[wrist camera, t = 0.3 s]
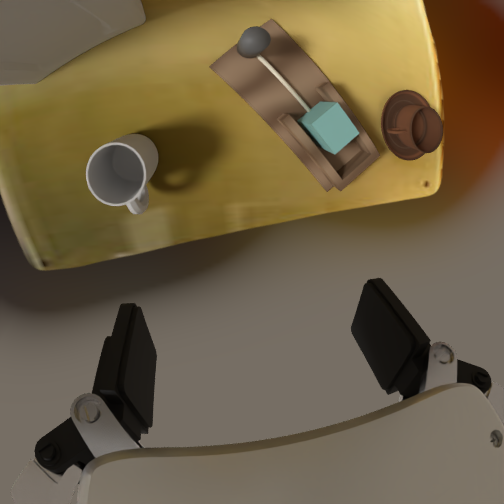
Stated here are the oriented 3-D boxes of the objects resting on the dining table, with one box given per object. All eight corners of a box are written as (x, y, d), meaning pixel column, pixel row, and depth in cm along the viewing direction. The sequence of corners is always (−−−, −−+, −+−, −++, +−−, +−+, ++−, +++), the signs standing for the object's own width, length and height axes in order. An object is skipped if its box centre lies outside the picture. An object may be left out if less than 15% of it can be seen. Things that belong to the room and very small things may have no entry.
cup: (149, 124, 31) (133, 131, 24) (173, 190, 37) (164, 215, 29) (103, 145, 31) (76, 158, 24) (128, 207, 37) (111, 235, 29)
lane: (209, 66, 29) (209, 63, 26) (270, 19, 26) (276, 12, 23) (326, 191, 40) (335, 198, 38) (374, 147, 38) (386, 152, 35)
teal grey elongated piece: (227, 50, 27) (231, 40, 23) (253, 30, 26) (261, 18, 22) (318, 147, 36) (335, 154, 31) (340, 128, 35) (359, 133, 30)
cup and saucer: (392, 169, 40) (414, 181, 35) (363, 107, 34) (387, 110, 29) (434, 139, 38) (458, 147, 33) (412, 79, 32) (437, 81, 27)
